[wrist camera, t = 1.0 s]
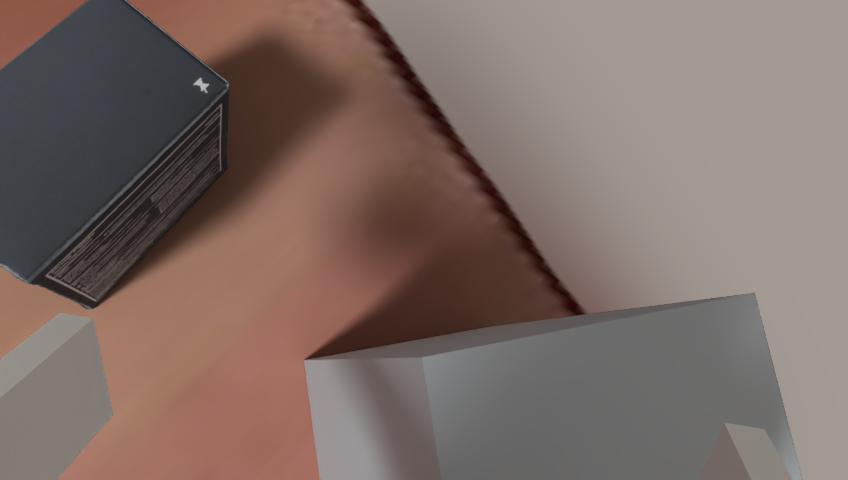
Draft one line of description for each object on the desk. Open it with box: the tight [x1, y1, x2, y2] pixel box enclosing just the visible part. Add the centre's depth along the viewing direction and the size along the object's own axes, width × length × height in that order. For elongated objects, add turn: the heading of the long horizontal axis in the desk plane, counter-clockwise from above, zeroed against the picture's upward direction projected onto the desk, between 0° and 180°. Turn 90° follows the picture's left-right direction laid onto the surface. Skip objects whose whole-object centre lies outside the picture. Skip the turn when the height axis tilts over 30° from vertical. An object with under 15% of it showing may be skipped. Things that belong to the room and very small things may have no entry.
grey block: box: [304, 293, 803, 480], centre depth 24 cm, size 12×10×19 cm
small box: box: [0, 0, 229, 309], centre depth 25 cm, size 11×6×10 cm, turn 146°
